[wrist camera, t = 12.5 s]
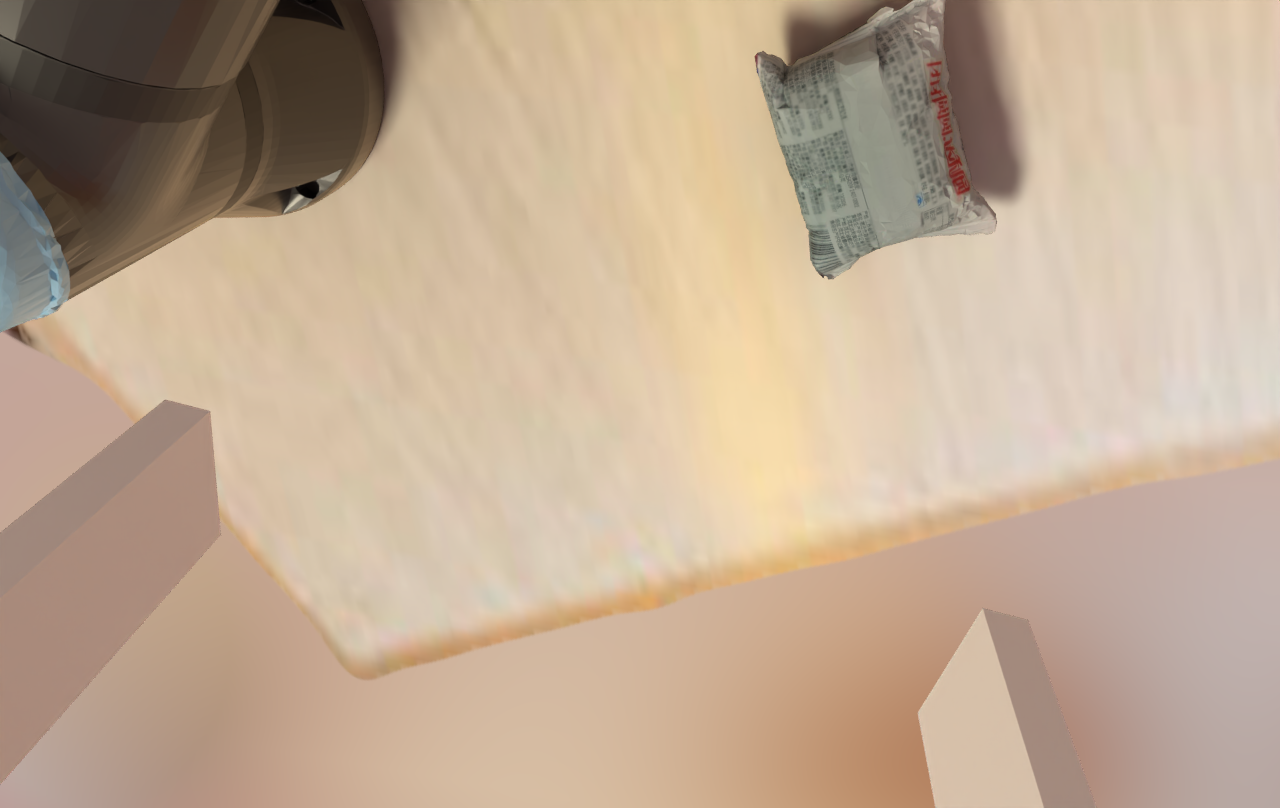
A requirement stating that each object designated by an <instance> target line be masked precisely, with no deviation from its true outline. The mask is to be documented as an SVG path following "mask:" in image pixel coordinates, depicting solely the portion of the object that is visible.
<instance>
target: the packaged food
mask: <svg viewBox="0 0 1280 808" xmlns="http://www.w3.org/2000/svg"><path fill="white" fill-rule="evenodd" d="M945 2H946V0H913V1H911V2H910V3H909V4H907V5H906V6H905V7H903V8H902V9H900V10H897V11H894V12H893V10H894V8H890V7H884V8H881V9H880V10H879V11H877V12H876V13H875V14H874V15H873V16H872V17H870V18H869V19H868V20H867V23H866V24H864V25H862V26H860V27H859V28H857V29H855V30H854V31H853V32H850V33H848V34H847V35H845V36H843V37H841V38H840V39H839V40H837V41H835V42H833V43H832V44H830V45H828V46H826V47H824V48H823V49H821V50H819V51H818V52H816V53H814V54H812V55H809V56H807V57H804V58H801V59H798V60H797V61H796V62H795V63H794V64H793V65H791V66H787V65H786V64H785V63H784V61H783V60H782V59H781V58H779V57H777V56H775V55H768V54H766V53H765V52H764V51H762V52H759V53H757V54H756V55H755V61H756V68H757V73H758V76H759V78H760V82H761V86H762V89H763V93H764V96H765V99H766V102H767V105H768V108H769V111H770V114H771V117H772V121H773V124H774V128H775V131H776V135H777V139H778V142H779V144H780V147H781V150H782V152H783V155H784V157H785V160H786V165H787V167H788V170H789V173H790V176H791V177H792V179H793V181H794V186H795V191H796V195H797V198H798V201H799V204H800V207H801V213H802V215H803V218H804V221H805V223H806V228H807V229H808V230H809V246H810V260H811V261H812V264H813V266H814V267H815V269H816V271H817V272H818V273H819V274H820V275H821V276H822V277H823V278H824V276H827V277H828V279H834V278H835V277H836V276H838V275H840V274H841V273H843V272H845V271H846V270H848V269H850V268H851V266H852V265H853V264H854V263H855V262H856V261H857V260H858V259H859V258H860V257H862V256H864V255H866V254H868V253H870V252H872V251H874V250H876V249H880V248H882V247H884V246H889V245H893V244H896V243H900V242H903V241H907V240H910V239H913V238H921V237H932V236H939V235H956V234H966V235H973V234H992V233H993V232H994V231H995V229H996V224H997V220H996V214H995V213H994V211H993V210H992V209H991V208H990V206H989V205H988V204H987V202H986V201H985V199H984V198H983V197H982V196H981V195H980V194H979V193H978V192H977V191H976V190H975V189H974V188H973V185H972V183H971V174H970V171H969V169H968V165H967V161H966V158H965V154H964V149H963V144H962V139H961V137H960V131H959V127H958V124H957V120H956V118H955V116H954V113H953V110H952V105H951V100H952V96H951V93H950V91H949V90H948V82H949V79H950V76H949V72H948V64H947V60H946V54H945V49H944V45H943V38H944V12H945ZM773 56H774V57H773Z"/></svg>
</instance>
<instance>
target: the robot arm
mask: <svg viewBox="0 0 1280 808" xmlns="http://www.w3.org/2000/svg"><path fill="white" fill-rule="evenodd" d="M383 103H384V78H383V68H382V61H381V56H380V51H379V47H378V43H377V39H376V36H375V33H374V30H373V27H372V24H371V22H370V19H369V17H368V14H367V12H366V10H365V8H364V6H363V3H362V1H361V0H0V332H2V331H5V330H7V329H9V328H12V327H14V326H17V325H19V324H22V323H25V322H27V321H30V320H32V319H38V318H43V317H45V316H47V315H49V314H52V313H54V312H56V311H58V310H59V308H60V307H61V305H62V304H63V303H64V302H65V301H67V300H69V299H71V298H73V297H74V296H76V295H78V294H80V293H81V292H83V291H85V290H87V289H89V288H90V287H92V286H94V285H96V284H97V283H99V282H101V281H103V280H104V279H106V278H108V277H110V276H112V275H113V274H115V273H117V272H119V271H120V270H122V269H124V268H126V267H128V266H129V265H131V264H133V263H135V262H136V261H138V260H140V259H142V258H143V257H145V256H147V255H149V254H151V253H152V252H154V251H156V250H158V249H159V248H161V247H163V246H165V245H167V244H168V243H170V242H172V241H174V240H175V239H177V238H179V237H181V236H182V235H184V234H186V233H188V232H190V231H191V230H193V229H195V228H197V227H198V226H200V225H202V224H204V223H205V222H207V221H209V220H210V219H212V218H235V217H272V216H279V215H285V214H288V213H292V212H296V211H299V210H302V209H304V208H307V207H309V206H311V205H313V204H315V203H317V202H318V201H320V200H322V199H323V198H325V197H326V196H328V195H330V194H331V193H333V192H334V191H336V190H337V189H339V188H340V187H342V186H343V185H344V184H345V183H347V182H348V181H349V180H350V179H351V178H352V177H353V176H354V175H355V174H356V173H357V172H358V170H359V169H360V168H361V166H362V165H363V164H364V162H365V160H366V159H367V157H368V155H369V154H370V152H371V150H372V148H373V145H374V143H375V140H376V138H377V134H378V131H379V128H380V123H381V119H382V112H383ZM220 535H221V531H220V519H219V508H218V496H217V485H216V473H215V462H214V450H213V439H212V428H211V416H210V411H208V410H204V409H200V408H196V407H192V406H188V405H184V404H180V403H176V402H172V401H168V400H164V401H163V402H162V403H160V404H159V405H158V406H157V407H155V408H154V409H153V410H152V411H151V412H149V413H148V414H147V415H146V416H144V417H143V418H142V419H141V420H139V421H138V422H137V423H136V424H134V425H133V426H132V427H131V428H129V429H128V430H127V431H126V432H125V433H123V434H122V435H121V436H119V437H118V438H117V439H116V440H115V441H114V442H112V443H111V444H110V445H108V446H107V447H106V448H105V449H103V450H102V451H101V452H100V453H99V454H97V455H96V456H95V457H94V458H92V459H91V460H90V461H88V462H87V463H86V464H85V465H84V466H82V467H81V468H80V469H79V470H77V471H76V472H75V473H74V474H72V475H71V476H70V477H69V478H67V479H66V480H65V481H64V482H62V483H61V484H60V485H59V486H57V487H56V488H55V489H54V490H52V491H51V492H50V493H49V494H47V495H46V496H45V497H44V498H43V499H42V500H40V501H39V502H38V503H36V504H35V505H34V506H33V507H31V508H30V509H29V510H28V511H26V512H25V513H24V514H23V515H21V516H20V517H19V518H18V519H16V520H15V521H14V522H13V523H11V524H10V525H9V526H8V527H7V528H5V529H4V530H3V531H2V532H0V784H1V783H2V782H3V781H4V780H5V779H6V778H7V776H8V775H9V774H10V773H11V772H12V771H13V770H14V769H15V767H16V766H17V765H18V764H19V763H20V762H21V761H22V759H23V758H24V757H25V756H26V755H27V754H28V753H29V751H30V750H31V749H32V748H33V747H34V746H35V745H36V744H37V742H38V741H39V740H40V739H41V738H42V737H43V735H45V733H46V732H47V731H48V730H49V729H50V728H51V727H52V725H53V724H54V723H55V722H56V721H57V720H58V719H59V717H60V716H61V715H62V714H63V713H64V712H65V711H66V710H67V708H68V707H69V706H70V705H71V704H72V703H73V702H74V701H75V699H76V698H77V697H78V696H79V695H80V694H81V693H82V691H83V690H84V689H85V688H86V687H87V686H88V685H89V683H90V682H91V681H92V680H93V679H94V678H95V677H96V675H97V674H98V673H99V672H100V671H101V670H102V669H103V668H104V667H105V665H106V664H107V663H108V662H109V661H110V660H111V659H112V657H113V656H114V655H115V654H116V653H117V652H118V651H119V649H120V648H121V647H122V646H123V645H124V644H125V643H126V642H127V640H128V639H129V638H130V637H131V636H132V635H133V634H134V633H135V631H136V630H137V629H138V628H139V627H140V626H141V625H142V623H143V622H144V621H145V620H146V619H147V618H148V617H149V615H150V614H151V613H152V612H153V611H154V610H155V609H156V607H157V606H158V605H159V604H160V603H161V602H162V601H163V600H164V599H165V597H166V596H167V595H168V594H169V593H170V592H171V590H172V589H173V588H174V587H175V586H176V585H177V584H178V583H179V581H180V580H181V579H182V578H183V577H184V576H185V575H186V574H187V572H188V571H189V570H190V569H191V568H192V567H193V566H194V565H195V563H196V562H197V561H198V560H199V559H200V558H201V557H202V555H203V554H204V553H205V552H206V551H207V549H209V547H210V546H211V545H212V544H213V543H214V542H215V541H216V540H217V538H218V537H219V536H220ZM918 717H919V722H920V728H921V732H922V738H923V744H924V749H925V754H926V759H927V765H928V770H929V776H930V781H931V787H932V791H933V797H934V802H935V808H1097V806H1096V804H1095V801H1094V798H1093V796H1092V793H1091V790H1090V787H1089V785H1088V782H1087V779H1086V777H1085V774H1084V771H1083V768H1082V766H1081V763H1080V760H1079V758H1078V755H1077V752H1076V749H1075V746H1074V744H1073V741H1072V738H1071V736H1070V733H1069V731H1068V727H1067V725H1066V722H1065V720H1064V717H1063V714H1062V711H1061V708H1060V706H1059V703H1058V700H1057V698H1056V695H1055V692H1054V689H1053V687H1052V684H1051V681H1050V678H1049V676H1048V673H1047V670H1046V667H1045V665H1044V662H1043V659H1042V657H1041V654H1040V651H1039V648H1038V646H1037V643H1036V640H1035V637H1034V635H1033V632H1032V629H1031V627H1030V624H1029V621H1028V620H1026V619H1023V618H1019V617H1015V616H1011V615H1007V614H1003V613H999V612H996V611H992V610H988V609H984V608H983V609H982V610H981V612H980V613H979V615H978V617H977V618H976V620H975V621H974V623H973V625H972V626H971V628H970V630H969V631H968V633H967V634H966V636H965V638H964V639H963V641H962V642H961V644H960V646H959V647H958V649H957V651H956V652H955V654H954V655H953V657H952V659H951V660H950V662H949V663H948V665H947V667H946V668H945V670H944V671H943V673H942V675H941V676H940V678H939V680H938V681H937V683H936V684H935V686H934V688H933V689H932V691H931V692H930V694H929V696H928V697H927V699H926V701H925V702H924V704H923V705H922V707H921V709H920V710H919V712H918Z"/></svg>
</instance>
